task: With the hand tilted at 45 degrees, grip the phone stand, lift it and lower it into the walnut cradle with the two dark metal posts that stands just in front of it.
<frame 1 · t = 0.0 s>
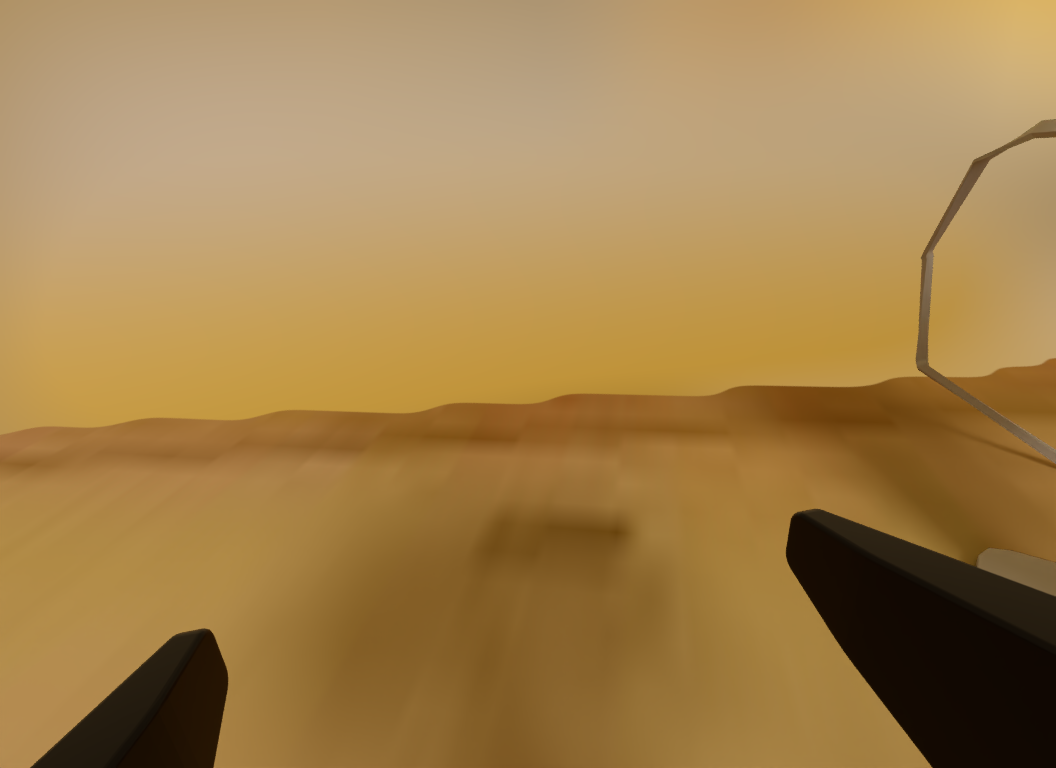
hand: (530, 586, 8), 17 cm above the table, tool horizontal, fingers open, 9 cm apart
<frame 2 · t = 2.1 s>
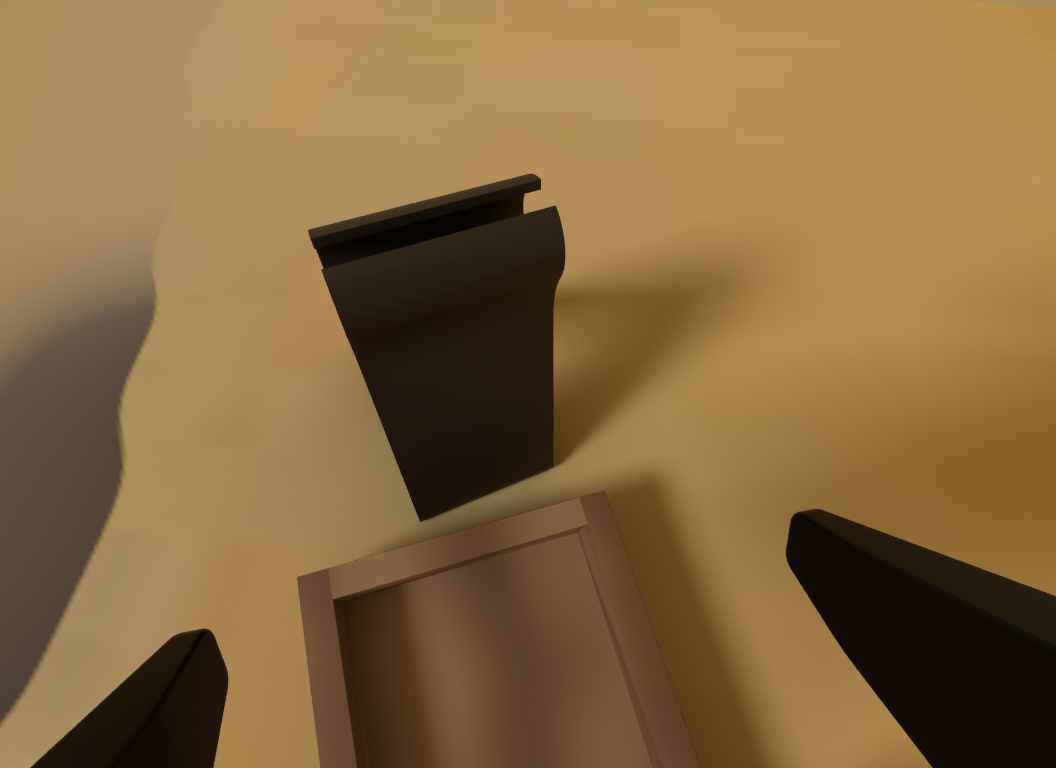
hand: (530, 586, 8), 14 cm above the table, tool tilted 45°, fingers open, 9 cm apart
phone stand: (450, 405, 24), on the table
cradle: (507, 738, 19), on the table
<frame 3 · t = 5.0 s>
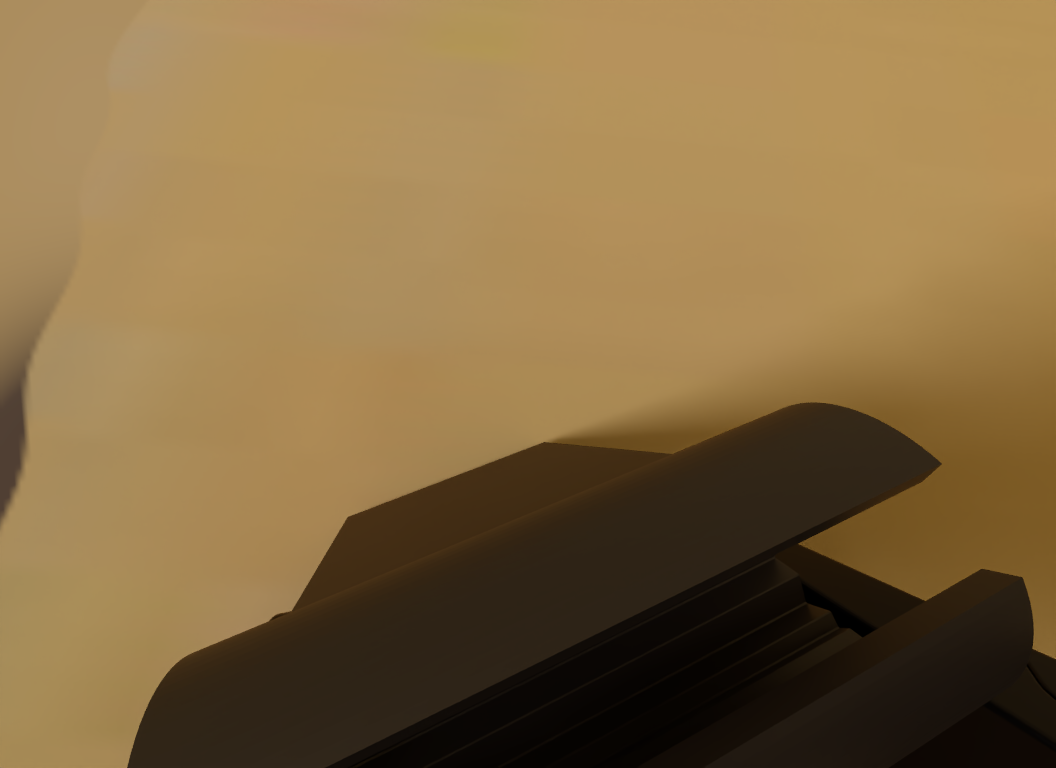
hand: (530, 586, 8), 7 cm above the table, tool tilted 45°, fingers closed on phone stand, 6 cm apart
phone stand: (507, 634, 14), on the table, touching gripper
when the fingers open (9 cm above the table, at t = 8.3 s): phone stand drops 1 cm, resting on cradle.
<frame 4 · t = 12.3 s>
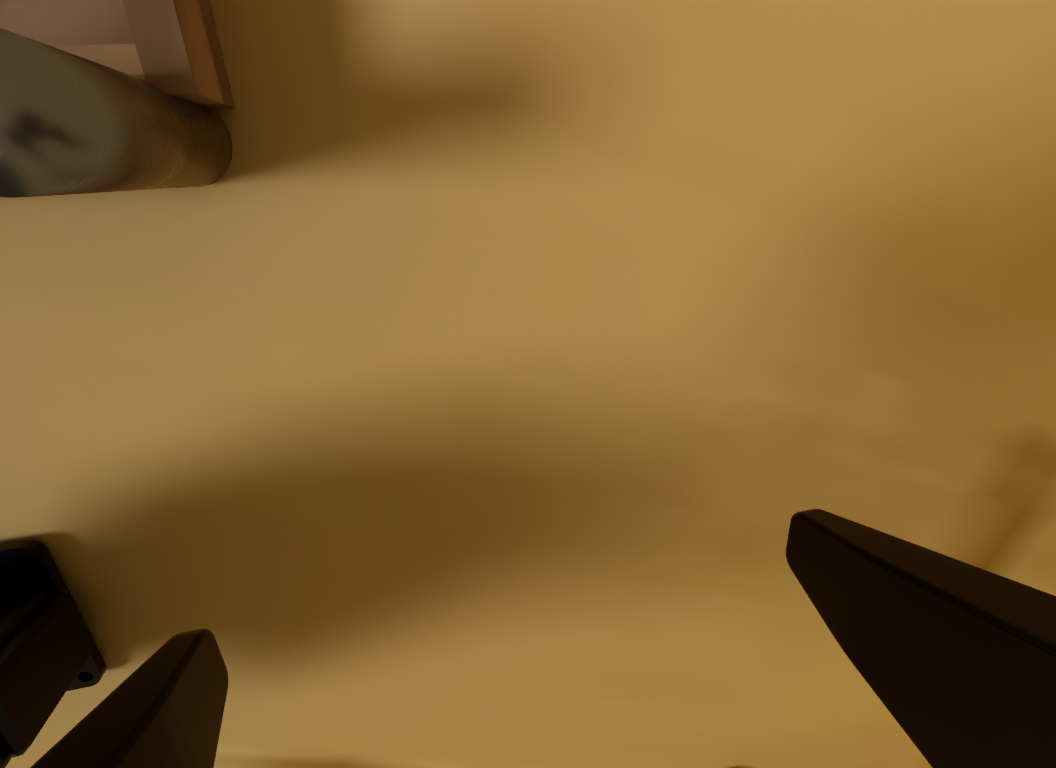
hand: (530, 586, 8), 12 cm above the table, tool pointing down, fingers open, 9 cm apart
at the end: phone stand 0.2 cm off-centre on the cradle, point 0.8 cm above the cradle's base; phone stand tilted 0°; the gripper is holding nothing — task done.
